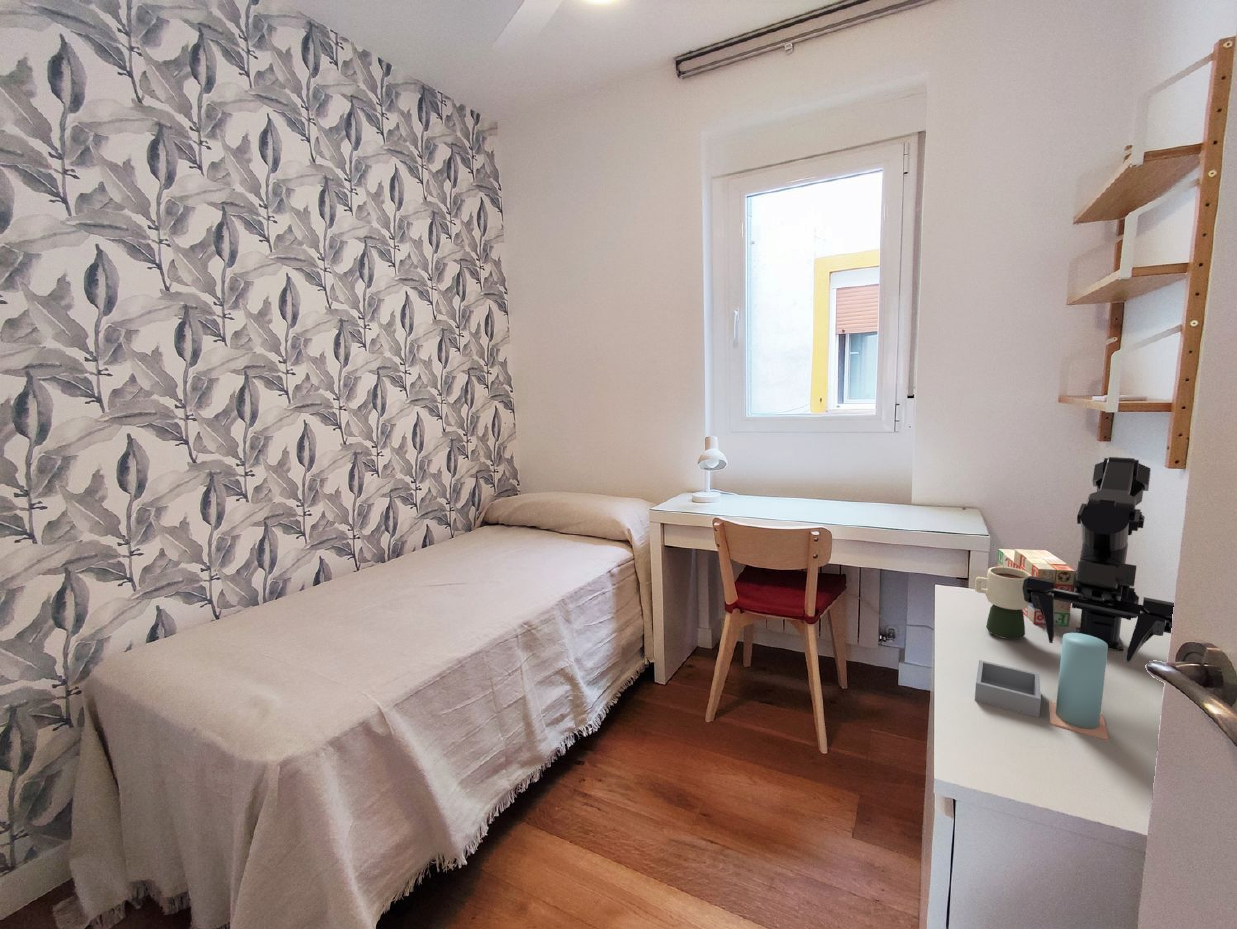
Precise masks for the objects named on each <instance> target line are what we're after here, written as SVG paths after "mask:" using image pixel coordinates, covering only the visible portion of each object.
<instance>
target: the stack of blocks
mask: <svg viewBox="0 0 1237 929" xmlns="http://www.w3.org/2000/svg"><path fill="white" fill-rule="evenodd" d="M997 551H998V552H997V567H1011V568H1016V569H1020V570H1023V571H1026V572H1028V573H1030V574H1031V575H1032V576H1034V577H1039V578H1044V579H1050V580H1054V586H1055V588H1058V589H1063V590H1068V591H1073V581H1074V575H1075V572H1076V570H1074V569H1073V568H1072V567H1070V566H1069V565H1068V563H1066V562H1065V561H1063V560H1062V559H1060V558H1059V557H1057V556H1055V555H1053V554H1052V553H1051V552H1049V551H1047V550H1046V549H1043V550H1042V549H1021V548H1015V549H1010V548H1009V549H1008V548H1007V549H1005V548H1003V549H1002V548H999V549H998V550H997ZM1071 608H1072V603H1069V602H1064V601H1059V600H1054V627H1066V628H1067V627H1069V626H1070V618H1071ZM1022 611H1023V614H1024V617H1025V618H1027V619H1028V621H1030V622H1031V624H1033V625H1041V626H1046V624H1045V621H1044V618H1043V616H1042V614H1041V611H1040V610H1039V609H1036V608H1034V607H1033V605H1032V603H1030V604H1029V606H1028V608H1025V609H1022Z"/></svg>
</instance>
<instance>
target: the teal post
mask: <svg viewBox="0 0 1237 929" xmlns="http://www.w3.org/2000/svg"><path fill="white" fill-rule="evenodd" d="M1108 649H1109V648H1108V644H1107V643H1106V642H1104V641H1103V640H1101V639H1099V638H1096V637H1093V636H1090V635H1086V634H1081V633H1076V632H1067V633H1066V632H1065V633H1063V635H1062V643H1061V650H1060V651H1061V652H1060V662H1059V663H1060V664H1059V673H1058V685H1057V694H1056V702H1055V703H1056V715H1057V717H1058V718H1060V719H1061V720H1062V721H1064V722H1066V723H1068V724H1070V725H1072V726H1075V727H1078V728H1083V729H1096V728H1098V727H1099V723H1100V714H1102V713H1101V712H1102V705H1103V697H1104V696H1103V695H1104V694H1103V693H1104V686H1105V684H1104V683H1105V676H1106V668H1107V666H1106V665H1107V657H1108Z"/></svg>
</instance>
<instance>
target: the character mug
mask: <svg viewBox="0 0 1237 929" xmlns="http://www.w3.org/2000/svg"><path fill="white" fill-rule="evenodd" d="M986 576H987V577H982V576H977V577H976V578H975V580H974V581H975V582H974V590H975V592H976V593H979V594H985V596H986V599H987V601H988V602H989V603H990V604H992V605H991V606H990V607H989V608H990V609H989V613H988V616H987V621H986V626H985V628H986V629H987V630H988V632H990V633H991V634H992V635H994V636H997V637H1000V638H1002V639H1007V640H1018V639H1022V638H1024V637H1025V635H1026V627H1025V615H1024V613H1023V611H1022V609H1025V608H1028V606H1029V604H1030V603H1028V602H1026V601H1025V600H1024V594H1023V589H1022V587H1023V583H1024V579H1025V578H1026V577H1028V576H1032V575H1031V574H1030V573H1028V572H1026V571H1023V570H1020V569H1016V568H1011V567H998V566H994V567H989V568H988V569H987V575H986ZM982 583H986V588H982Z"/></svg>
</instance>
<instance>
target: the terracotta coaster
mask: <svg viewBox="0 0 1237 929" xmlns="http://www.w3.org/2000/svg"><path fill="white" fill-rule="evenodd" d="M1056 703H1057V702H1056V701H1055V702H1054V701H1051V700H1049V701H1048V709H1049V710H1048V712H1049V723H1050V725H1052V726H1055V727H1059V728H1062V729H1065V730H1070V731H1073V732H1077V733H1081V734H1085V735H1088V736H1092V737H1095V738H1100V739H1103V740H1107V741H1108V740H1109V737H1108V731H1107V727H1106V722H1105V717H1104V715H1103V714H1102V713H1101V714H1100V723H1099V727H1098V728H1096V729H1083V728H1078V727H1075V726H1072V725H1070V724H1068V723H1066V722H1064V721H1062V720H1061V719H1060V718H1058V717H1057V715H1056Z"/></svg>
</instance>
